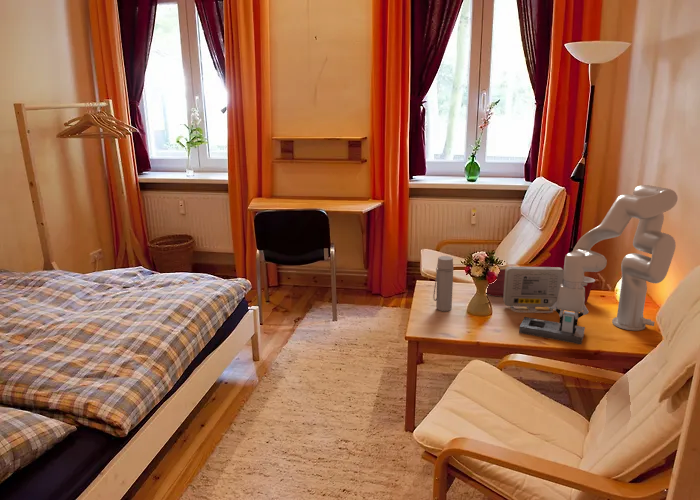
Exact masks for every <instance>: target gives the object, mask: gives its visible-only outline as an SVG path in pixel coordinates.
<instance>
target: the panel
mask: <svg viewBox="0 0 700 500" xmlns="http://www.w3.org/2000/svg"><path fill="white" fill-rule="evenodd" d="M518 329H519V330H518V333H519V334H524V335H529V336H535V337H539V338H540V337H541V338H543V339H544V338H545V339H550V340H557V341H560V342H564V343H565V342H567V343H571V344H576V345H582V343H583V340H584V335H585V326H581V325H580V326H579V325H577V326H575V328H573V333H568V332H562V326H561V323H559V322H558V321H553V320H552V321H550V320H545V319H539V318H534V317H527V316H524V317H523V319H522V321H521V323H520V325H519V328H518Z"/></svg>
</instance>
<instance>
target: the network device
mask: <svg viewBox="0 0 700 500" xmlns="http://www.w3.org/2000/svg"><path fill="white" fill-rule="evenodd" d="M563 273H564V268H562V267H560V266H559V267H558V266H556V267H555V266H554V267H553V266H552V267H551V266H509V267H507V268H506V269H505V281H504V295H503V296H502V297H503V298H502V299H503V301H502V302H504V303H503V304H504V305H505V306H506V307H509V308H510V309H511V311H512V312H515V313H525V314H527V313H532V314H536V313H537V314H539V313H540V314H553V313H554V312H555V310H554V309H553V308H552V305H553V304H554V303H555V302H556V301H557V297H558V292H559V288H560V285H561V284H562V282H563ZM514 307H525V308H527V309H528V310H523V309H522V310H521V309H520V310H517V309H515V308H514ZM556 307H557V306H556ZM536 308H548V310H537V309H536Z"/></svg>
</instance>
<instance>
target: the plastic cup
mask: <svg viewBox="0 0 700 500" xmlns="http://www.w3.org/2000/svg"><path fill="white" fill-rule="evenodd" d="M583 281H584V282H585V283H587V286H583V287H584V288H585V304H587V303H588V300H589V297H590V294H591V291H592V287H593V285H594V283H595V282H596V279H594V277H593V278H592V277H589V276H584V279H583Z"/></svg>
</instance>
